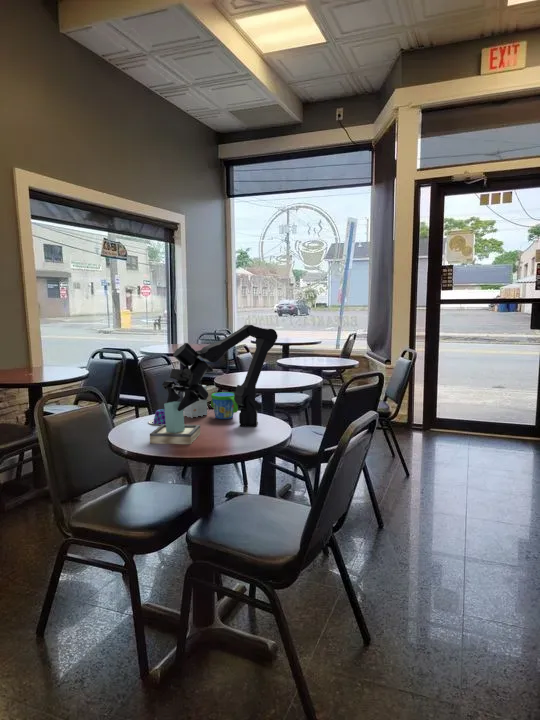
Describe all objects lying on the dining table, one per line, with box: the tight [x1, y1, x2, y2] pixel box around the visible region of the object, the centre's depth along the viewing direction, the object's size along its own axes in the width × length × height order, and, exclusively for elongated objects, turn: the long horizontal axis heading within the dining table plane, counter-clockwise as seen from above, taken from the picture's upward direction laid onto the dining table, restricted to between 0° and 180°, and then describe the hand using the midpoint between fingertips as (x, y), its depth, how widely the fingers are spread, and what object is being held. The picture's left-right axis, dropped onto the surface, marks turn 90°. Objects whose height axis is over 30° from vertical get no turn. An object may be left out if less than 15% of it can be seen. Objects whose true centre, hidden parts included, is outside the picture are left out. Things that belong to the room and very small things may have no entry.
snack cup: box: [210, 391, 239, 420], centre depth 197 cm, size 16×11×10 cm
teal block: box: [163, 401, 185, 433], centre depth 164 cm, size 4×4×10 cm
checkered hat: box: [148, 408, 166, 426], centre depth 190 cm, size 12×12×5 cm
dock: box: [149, 424, 201, 445], centre depth 165 cm, size 14×14×3 cm
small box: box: [182, 384, 208, 419], centre depth 201 cm, size 8×6×13 cm
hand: (172, 409), depth 163 cm, fingers open, 6 cm apart
